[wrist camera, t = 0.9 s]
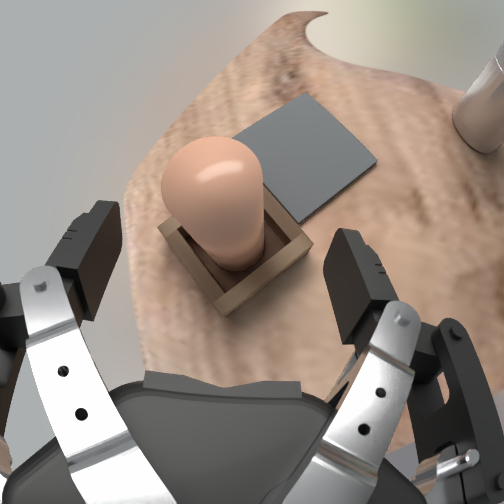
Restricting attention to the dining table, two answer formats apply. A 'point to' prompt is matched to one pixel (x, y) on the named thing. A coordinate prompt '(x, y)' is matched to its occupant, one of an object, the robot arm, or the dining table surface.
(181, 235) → the walnut collar
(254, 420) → the robot arm
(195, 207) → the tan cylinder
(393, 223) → the dining table surface
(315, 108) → the charcoal mat
